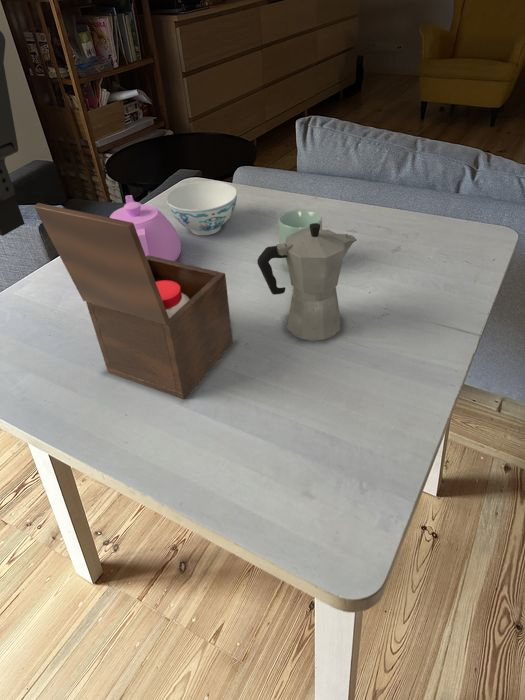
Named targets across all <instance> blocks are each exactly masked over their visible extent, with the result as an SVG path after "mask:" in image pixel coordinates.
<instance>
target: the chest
mask: <svg viewBox="0 0 525 700" xmlns="http://www.w3.org/2000/svg"><path fill="white" fill-rule="evenodd" d="M146 258H147V261H148V263H149V266H150V269H151V271H152V274H153V277H154V279H155V282H156V281H162V280H169V281H174V282H176V283H178V284H179V285H180V288H181V292H182V293H184V294H185V295H187V296H188V297H189V299H190V300H189V301H188V302H187V303H186V304H185V305H184V306H182V307H181V308H180V309H179V310H178V311H177V312H176V313H175V314H174V315H173V316H172V317H171V318H170V319H169V320H170V322H169V323H168V324H167V325H164V324H161V323H157V322H154V321H151V320H147V319H144V318H140V317H137V316H134V315H130V314H127V313H123V312H120V311H117V310H113V309H110V308H106V307H103V306H99V305H96V304H93V303H89V302H86V301H85V303H86V307H87V309H88V314H89V316H90V320H91V322H92V323H91V324H92V326H93V329H94V332H95V336H96V338H97V342H98V345H99V348H100V351H101V354H102V359H103V361H104V364H105V367H106V370H107V373H108V374H111V375H113V376H116V377H119V378H122V379H126V380H128V381H131V382H133V383H136V384H140V385H143V386H145V387H148V388H151V389H154V390H156V391H158V392H159V391H160V392H162V393H165V394H168V395H170V396H173V397H177V398H179V399H182V400H185V399H186V398H187V397H188V395H190V393H191V392H192V391H193V390H194V389H195V388H196V386H198V384H199V383H200V382H201V381H202V379H203V378H204V377H205V376H206V375H207V374H208V373H209V371H210V370H211V369H212V368H213V367H214V366H215V365H216V364H217V363H218V361H219V360H220V359H221V358H222V357H223V356H224V354H225V353H226V352H227V351H228V350H229V349H230V347H231V346H232V345H233V344H234V342H233V341H234V340H233V334H232V333H233V331H232V323H231V315H230V305H229V304H230V303H229V295H228V286H227V277H226V273H225V272H221V271H219V270H218V271H217V270H213V269H209V268H204V267H200V266H197V265H192V264H188V263H183V262H179V261H171V260H166V259H162V258H158V257H154V256H149V255H147V256H146Z"/></svg>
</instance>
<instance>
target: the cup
mask: <svg viewBox="0 0 525 700" xmlns="http://www.w3.org/2000/svg"><path fill="white" fill-rule="evenodd" d="M277 223H278V224H277V225H278V227H277V229H278V244H283V243H285V242H286V237H287V236H290V235H292V234H295V233H297V232H299V231H302V230H304V229H310V224H312V223H318V224H320V230H323V217H322V216H321V214H320V213H318V212H316V211H314V210H310V209H305V208H302V209H301V208H299V209H292V210H288V211H286V212H284V213H282V214H281V215H280V216H279V217H278V222H277ZM281 261H282V263H283V266H284V267H286V268H287V269H288V265H287V259H286V258H281Z"/></svg>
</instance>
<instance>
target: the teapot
mask: <svg viewBox="0 0 525 700" xmlns="http://www.w3.org/2000/svg"><path fill="white" fill-rule="evenodd" d="M109 218H113V219H118V220H122V221H127V222H132V223H134V226H135V229H136V231H137V234H138V237H139V239H140V242H141V245H142V247H143V250H144V253H145V255H146V256H147V255H149V256H154V257H158V258H162V259H166V260H171V261H175V262H177V260H178V258H179V257H180V255H181V251H182V243H181V239H180V236H179V234H178V231H177V230H176V228H175V227H174V225H173V224H172V223H171V221H170V220H169V219H168V218H167V217H166V216H165V215H164V213H163V212H162V211H160V210H159V209H158V208H157V207H155V206H153V205H150V204H144V203H143V204H142V203H141V202H139V201H135V200H134V198H133V194H131V195H125V204H124V205H123V207H120V208H118V209H116V210H114V211H113V212H112V213H111V214H110V215H109Z"/></svg>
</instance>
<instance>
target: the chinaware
mask: <svg viewBox="0 0 525 700" xmlns="http://www.w3.org/2000/svg"><path fill="white" fill-rule="evenodd" d="M237 199H238V190H237V189H236V188H235V187H234V186H233V185H232V184H230V183H226V182H222V181H216V180H204V181H203V180H201V181H195V182H190V183H186V184H185V183H184V184H182V185H180V186H178V187H174V188H173V189H172V190H170V191H169V192H168V193H167V195H166V197H165V201H166V204H167V206H168V209H169V211H170V213H171V214H172V216H173V217H174V219H176V221H177V222H179V224H181V225H182V226H183V227H186V228H187V229H189V230H190V232H191V233H193V234H195V235H197V236H209V235H214V234H216V233H218V232H219V231H220V230H221V229H222V226H223V225H224V224H225V223H227V221H228V220H229V219H230V218H231V216H232V215H233V213H234V210H235V208H236V205H237Z"/></svg>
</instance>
